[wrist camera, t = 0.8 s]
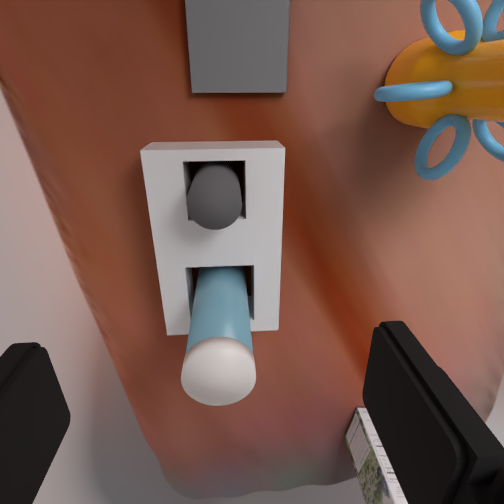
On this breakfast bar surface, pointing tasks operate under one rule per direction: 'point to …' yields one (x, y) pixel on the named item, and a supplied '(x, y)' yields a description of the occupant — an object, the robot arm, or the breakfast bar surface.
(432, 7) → the cylinder
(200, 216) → the plunger
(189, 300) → the housing
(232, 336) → the cartridge
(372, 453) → the syrup box
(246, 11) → the mat
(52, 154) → the breakfast bar surface
